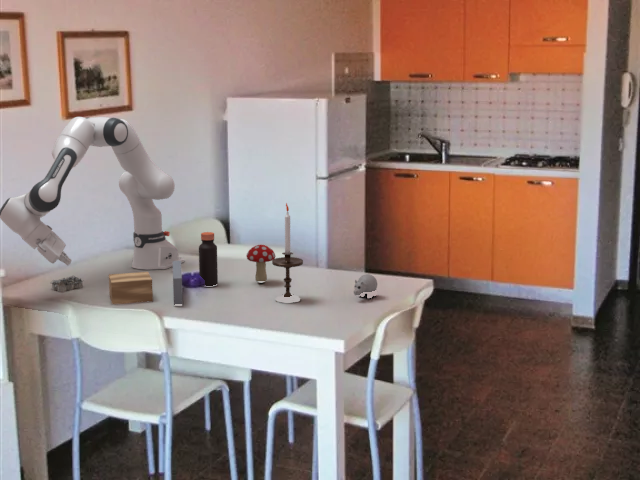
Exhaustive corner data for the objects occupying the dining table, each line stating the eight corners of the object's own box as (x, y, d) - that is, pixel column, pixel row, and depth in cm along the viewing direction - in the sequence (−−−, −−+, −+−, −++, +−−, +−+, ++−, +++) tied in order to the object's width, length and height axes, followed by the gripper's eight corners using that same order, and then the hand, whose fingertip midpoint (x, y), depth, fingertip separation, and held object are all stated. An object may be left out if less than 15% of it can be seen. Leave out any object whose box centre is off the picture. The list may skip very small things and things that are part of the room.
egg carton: (60, 293, 325) (59, 282, 324) (49, 289, 330) (48, 278, 329) (85, 287, 333) (85, 277, 332) (74, 284, 338) (73, 273, 337)
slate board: (173, 286, 333) (172, 260, 331) (181, 286, 334) (180, 260, 332) (173, 306, 308) (172, 278, 306) (182, 306, 309) (181, 278, 307)
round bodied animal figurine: (345, 300, 317) (345, 277, 315) (364, 293, 326) (364, 270, 324) (362, 304, 313) (362, 280, 311) (381, 296, 322) (381, 274, 320)
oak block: (109, 295, 322) (108, 274, 320) (148, 292, 326) (147, 271, 325) (112, 304, 311) (111, 282, 309) (152, 301, 315) (152, 279, 313)
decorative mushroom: (258, 288, 332) (258, 249, 328) (240, 282, 340) (240, 244, 336) (281, 283, 339) (281, 245, 335) (263, 278, 347) (263, 240, 344)
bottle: (195, 285, 336) (194, 233, 332) (209, 282, 341) (208, 230, 336) (207, 288, 331) (206, 236, 327) (221, 285, 336) (220, 233, 332)
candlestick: (268, 297, 320) (267, 201, 312) (296, 294, 324) (296, 199, 317) (278, 305, 310) (278, 206, 303) (307, 302, 314) (307, 204, 307)
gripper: (41, 236, 299) (73, 263, 302) (49, 224, 318) (79, 250, 322) (28, 249, 299) (60, 277, 303) (37, 237, 319) (67, 262, 322)
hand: (70, 263), depth 312 cm, fingers closed
